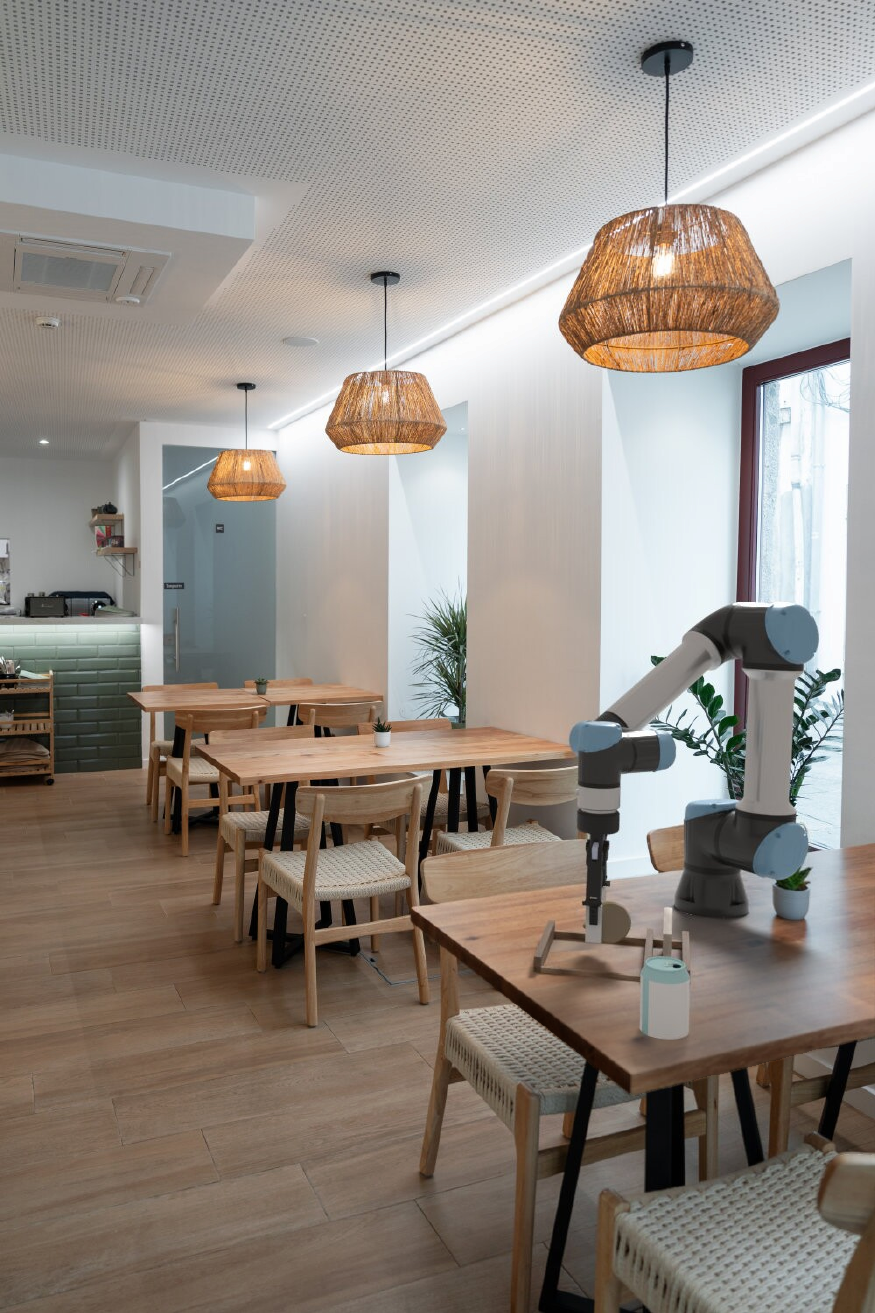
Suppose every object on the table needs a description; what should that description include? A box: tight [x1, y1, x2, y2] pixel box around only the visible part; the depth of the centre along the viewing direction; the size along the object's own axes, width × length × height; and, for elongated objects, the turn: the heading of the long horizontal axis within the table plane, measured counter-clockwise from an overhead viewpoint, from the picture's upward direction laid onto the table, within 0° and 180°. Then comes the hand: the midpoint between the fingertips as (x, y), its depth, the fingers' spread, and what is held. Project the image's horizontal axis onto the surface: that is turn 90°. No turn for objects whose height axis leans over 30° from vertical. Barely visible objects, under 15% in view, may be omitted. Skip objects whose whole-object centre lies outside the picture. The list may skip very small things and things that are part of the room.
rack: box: [533, 906, 691, 982], centre depth 176 cm, size 26×20×9 cm
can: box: [639, 955, 691, 1041], centre depth 145 cm, size 7×7×12 cm
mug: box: [582, 900, 632, 943], centre depth 175 cm, size 8×10×10 cm
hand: (595, 931), depth 177 cm, fingers closed on mug, 10 cm apart
